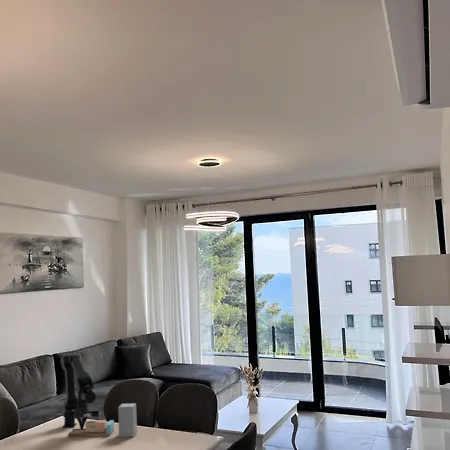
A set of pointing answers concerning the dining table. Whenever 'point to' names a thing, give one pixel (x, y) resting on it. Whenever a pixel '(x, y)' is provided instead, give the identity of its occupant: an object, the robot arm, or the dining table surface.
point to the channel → (86, 433)
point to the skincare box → (127, 420)
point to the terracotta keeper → (100, 426)
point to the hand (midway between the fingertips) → (82, 429)
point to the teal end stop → (110, 426)
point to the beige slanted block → (90, 426)
